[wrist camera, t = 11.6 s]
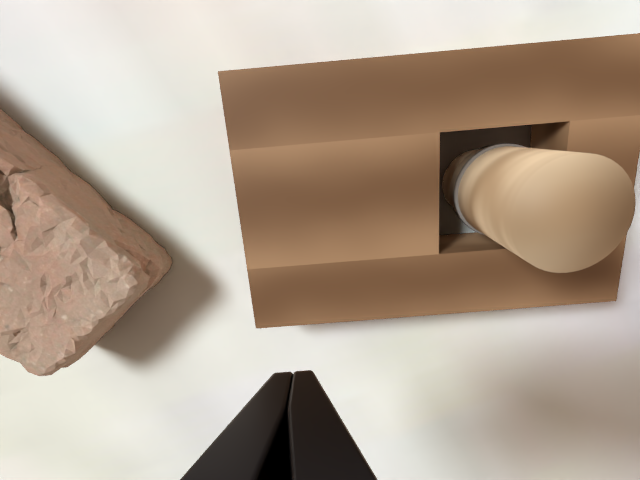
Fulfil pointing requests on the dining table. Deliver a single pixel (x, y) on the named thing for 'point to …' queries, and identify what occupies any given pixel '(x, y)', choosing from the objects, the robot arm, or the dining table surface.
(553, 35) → the dining table surface
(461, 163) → the peg
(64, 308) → the brick
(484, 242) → the seat board
